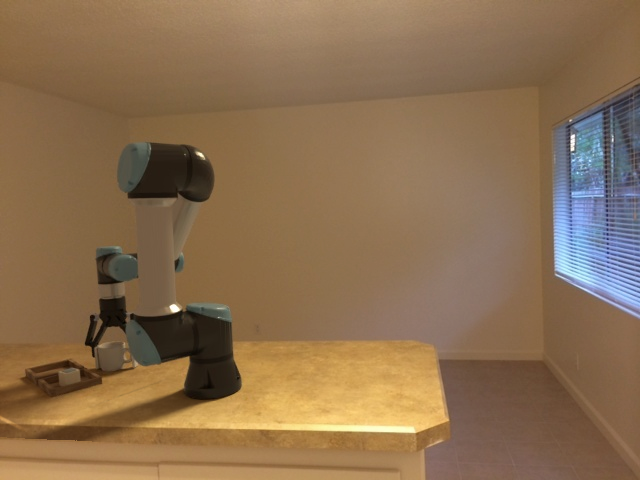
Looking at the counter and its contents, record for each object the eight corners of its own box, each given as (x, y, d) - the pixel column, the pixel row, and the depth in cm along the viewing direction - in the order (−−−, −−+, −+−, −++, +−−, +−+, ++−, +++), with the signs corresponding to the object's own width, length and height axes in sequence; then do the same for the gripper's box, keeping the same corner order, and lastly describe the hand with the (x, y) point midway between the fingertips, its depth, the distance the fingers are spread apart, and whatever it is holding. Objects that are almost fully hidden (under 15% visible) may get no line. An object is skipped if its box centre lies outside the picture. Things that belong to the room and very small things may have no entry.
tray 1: (85, 375, 150) (84, 366, 150) (37, 387, 141) (36, 378, 141) (71, 366, 159) (70, 358, 159) (25, 377, 150) (25, 369, 150)
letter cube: (80, 383, 140) (79, 369, 140) (66, 388, 137) (65, 373, 137) (73, 381, 143) (72, 367, 142) (59, 385, 139) (58, 371, 139)
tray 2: (102, 385, 140) (101, 377, 139) (51, 399, 131) (51, 390, 130) (86, 375, 149) (85, 367, 149) (38, 387, 140) (37, 379, 140)
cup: (140, 365, 157) (138, 340, 156) (127, 374, 149) (126, 348, 148) (107, 366, 158) (105, 341, 157) (93, 374, 150) (91, 348, 149)
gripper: (153, 292, 155) (158, 361, 157) (81, 295, 156) (86, 364, 157) (144, 297, 148) (149, 369, 149) (68, 300, 148) (74, 372, 150)
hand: (117, 366), depth 153 cm, fingers closed on cup, 11 cm apart
